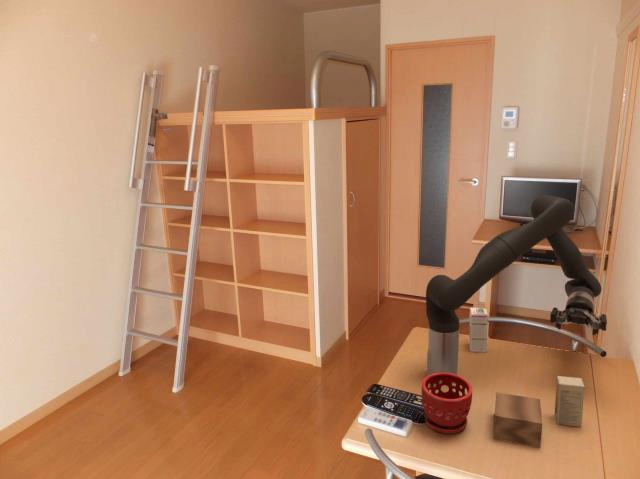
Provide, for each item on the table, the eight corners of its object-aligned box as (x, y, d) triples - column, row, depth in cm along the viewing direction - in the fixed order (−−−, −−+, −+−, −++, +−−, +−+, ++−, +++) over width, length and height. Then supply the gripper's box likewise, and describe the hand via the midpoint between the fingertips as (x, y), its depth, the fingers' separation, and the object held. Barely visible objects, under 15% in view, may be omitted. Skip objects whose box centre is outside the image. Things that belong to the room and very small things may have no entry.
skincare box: (578, 418, 131) (583, 378, 128) (581, 427, 127) (586, 386, 124) (552, 414, 133) (556, 374, 130) (554, 423, 129) (558, 383, 126)
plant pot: (410, 422, 132) (411, 383, 129) (441, 403, 140) (443, 366, 137) (449, 446, 122) (451, 405, 119) (480, 425, 130) (482, 385, 127)
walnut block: (493, 439, 125) (495, 415, 123) (494, 414, 135) (496, 392, 133) (540, 447, 121) (542, 423, 119) (537, 421, 131) (539, 399, 129)
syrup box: (487, 352, 167) (489, 314, 164) (469, 351, 169) (471, 313, 165) (485, 345, 173) (487, 307, 169) (467, 344, 174) (469, 306, 170)
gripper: (554, 292, 149) (549, 312, 136) (608, 299, 142) (607, 321, 129) (553, 314, 151) (547, 336, 138) (605, 322, 144) (605, 346, 131)
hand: (576, 329), depth 133 cm, fingers open, 8 cm apart
